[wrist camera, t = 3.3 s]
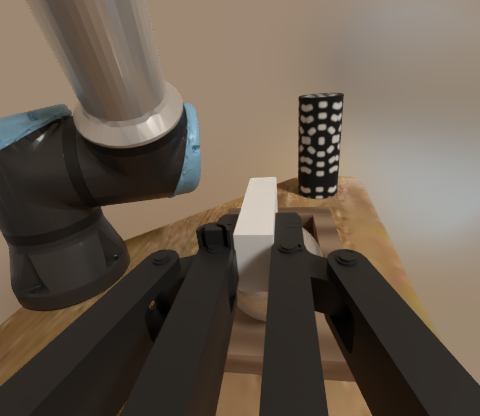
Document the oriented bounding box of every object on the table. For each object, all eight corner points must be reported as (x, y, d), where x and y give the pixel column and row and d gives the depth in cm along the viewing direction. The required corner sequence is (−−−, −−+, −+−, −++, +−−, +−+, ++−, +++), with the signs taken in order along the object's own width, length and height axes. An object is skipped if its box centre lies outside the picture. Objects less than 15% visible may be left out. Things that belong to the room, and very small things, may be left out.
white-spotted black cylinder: (339, 198, 59) (347, 95, 50) (299, 199, 60) (299, 99, 51) (333, 183, 66) (339, 92, 57) (297, 184, 67) (297, 95, 59)
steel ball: (209, 303, 31) (196, 224, 27) (275, 265, 36) (273, 193, 32) (272, 368, 24) (266, 273, 19) (343, 308, 29) (351, 223, 25)
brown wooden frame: (377, 383, 24) (381, 364, 23) (179, 368, 27) (174, 350, 26) (328, 219, 51) (328, 206, 50) (230, 220, 54) (229, 208, 53)
